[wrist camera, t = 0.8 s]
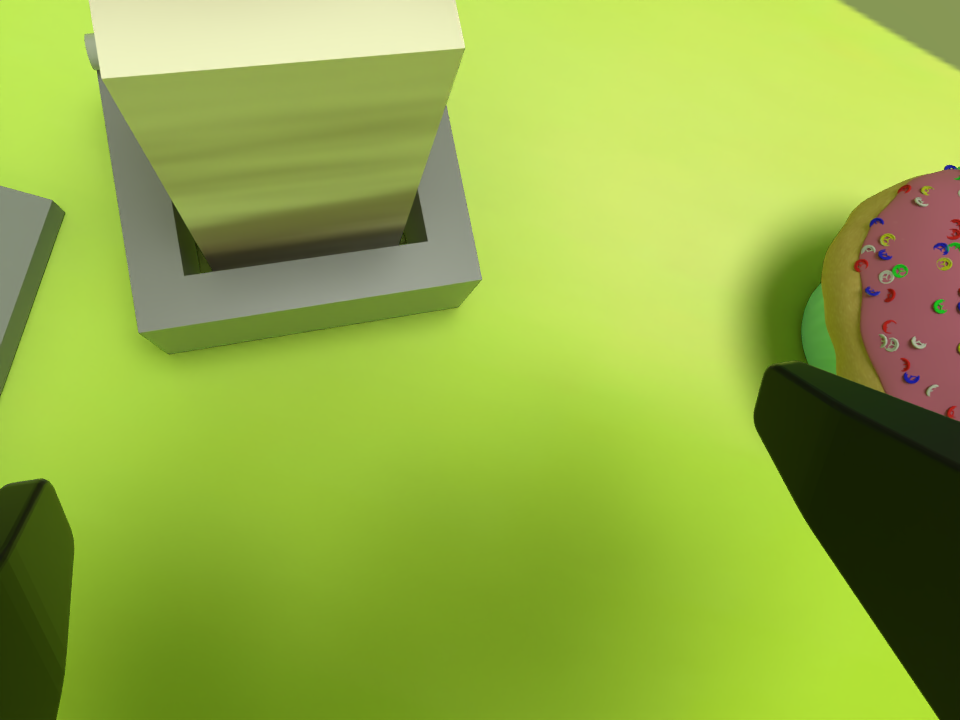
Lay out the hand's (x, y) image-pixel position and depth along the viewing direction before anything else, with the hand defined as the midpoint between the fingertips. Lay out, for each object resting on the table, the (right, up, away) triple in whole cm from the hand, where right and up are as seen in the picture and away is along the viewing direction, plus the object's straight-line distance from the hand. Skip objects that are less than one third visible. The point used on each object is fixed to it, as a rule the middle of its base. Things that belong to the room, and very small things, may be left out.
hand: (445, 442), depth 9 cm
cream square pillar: (-5, +6, +13) cm, 15 cm away
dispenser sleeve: (-5, +6, +13) cm, 15 cm away
